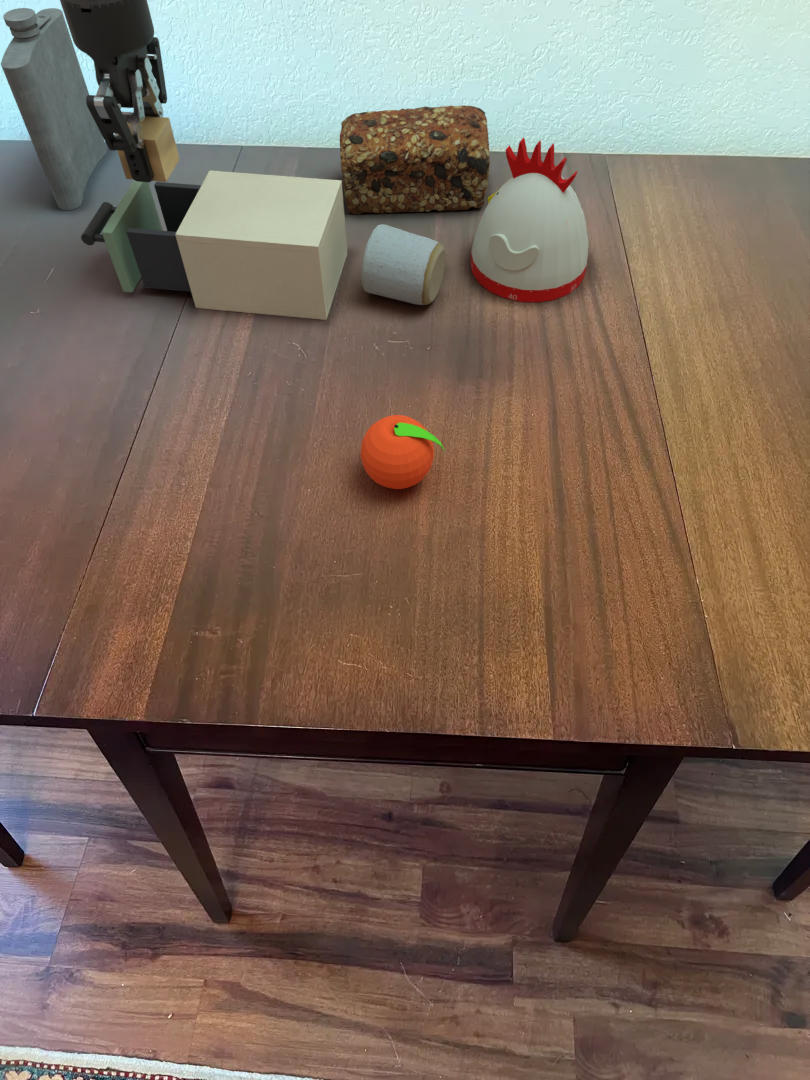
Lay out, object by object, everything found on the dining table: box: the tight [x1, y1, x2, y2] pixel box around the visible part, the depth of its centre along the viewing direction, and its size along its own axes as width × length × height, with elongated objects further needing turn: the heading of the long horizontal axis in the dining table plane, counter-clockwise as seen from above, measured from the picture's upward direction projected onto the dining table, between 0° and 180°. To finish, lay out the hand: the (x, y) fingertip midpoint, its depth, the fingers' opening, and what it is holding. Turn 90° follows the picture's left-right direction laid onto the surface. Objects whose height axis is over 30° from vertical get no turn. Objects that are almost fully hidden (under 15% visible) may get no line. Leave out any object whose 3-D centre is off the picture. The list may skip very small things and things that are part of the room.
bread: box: [339, 105, 491, 215], centre depth 100 cm, size 19×11×10 cm, turn 91°
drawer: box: [80, 179, 202, 293], centre depth 91 cm, size 19×11×8 cm, turn 81°
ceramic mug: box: [361, 223, 447, 306], centre depth 90 cm, size 11×8×8 cm
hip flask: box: [0, 7, 108, 211], centre depth 99 cm, size 16×4×20 cm, turn 178°
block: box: [114, 116, 181, 183], centre depth 82 cm, size 4×4×4 cm
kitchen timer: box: [470, 137, 589, 303], centre depth 89 cm, size 14×14×15 cm
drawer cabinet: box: [175, 170, 348, 321], centre depth 90 cm, size 16×13×10 cm
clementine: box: [360, 414, 446, 490], centre depth 73 cm, size 8×7×7 cm
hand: (151, 166), depth 84 cm, fingers closed on block, 4 cm apart
